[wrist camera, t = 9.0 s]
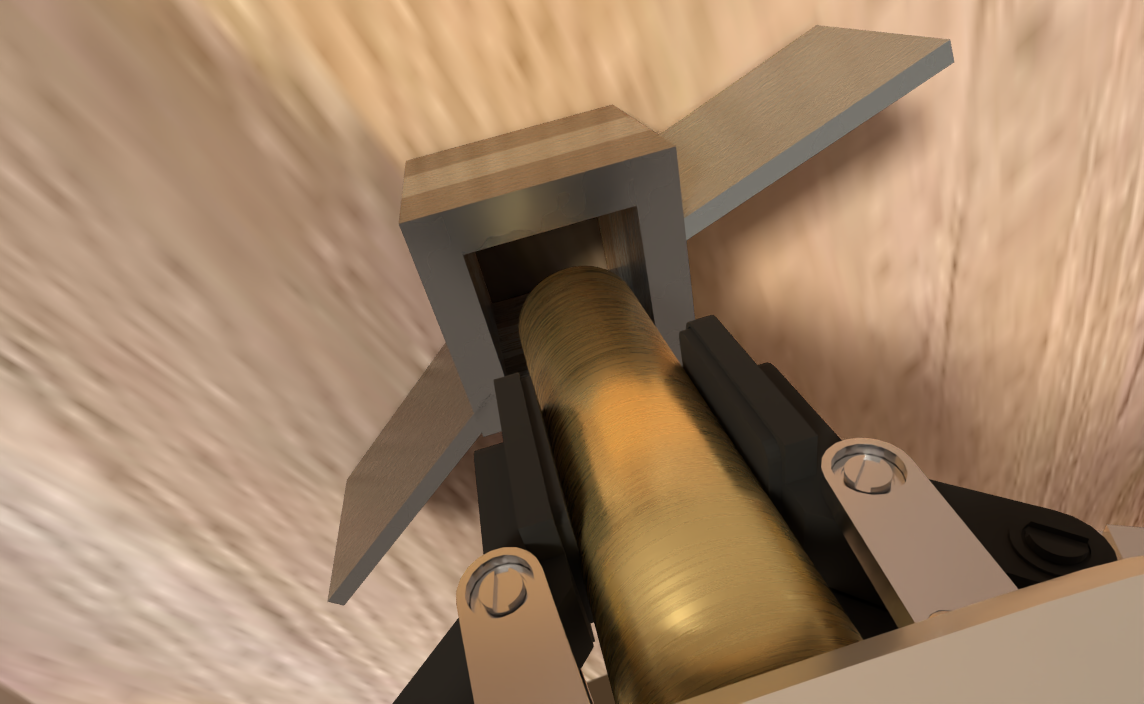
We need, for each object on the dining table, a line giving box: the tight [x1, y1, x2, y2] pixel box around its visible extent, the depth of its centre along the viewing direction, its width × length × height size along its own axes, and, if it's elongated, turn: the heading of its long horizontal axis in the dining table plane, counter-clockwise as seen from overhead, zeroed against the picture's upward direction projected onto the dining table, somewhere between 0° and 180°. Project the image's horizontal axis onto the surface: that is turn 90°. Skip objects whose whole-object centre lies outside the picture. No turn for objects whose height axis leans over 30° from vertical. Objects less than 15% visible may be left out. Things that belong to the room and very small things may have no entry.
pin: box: [518, 266, 863, 704], centre depth 11 cm, size 3×3×12 cm
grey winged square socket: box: [328, 25, 954, 605], centre depth 20 cm, size 22×13×6 cm, turn 102°
